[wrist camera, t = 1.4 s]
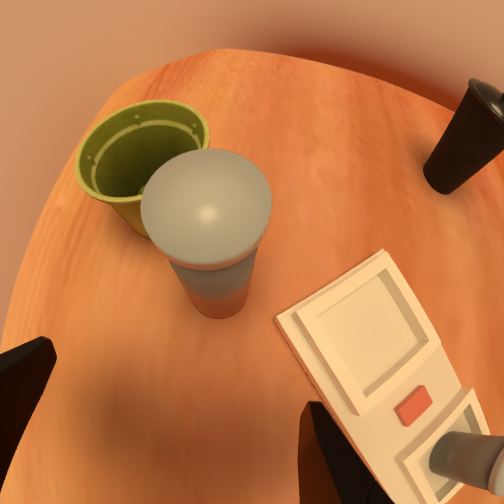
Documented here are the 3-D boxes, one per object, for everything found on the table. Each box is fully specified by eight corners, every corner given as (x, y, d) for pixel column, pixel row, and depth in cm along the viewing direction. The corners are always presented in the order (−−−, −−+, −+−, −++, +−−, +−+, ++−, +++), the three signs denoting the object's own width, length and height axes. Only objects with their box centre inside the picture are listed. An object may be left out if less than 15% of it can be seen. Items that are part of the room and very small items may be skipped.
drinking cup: (434, 209, 27) (544, 84, 8) (403, 155, 30) (482, 25, 11) (468, 201, 28) (562, 101, 10) (440, 153, 31) (514, 48, 12)
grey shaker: (206, 332, 21) (171, 286, 9) (178, 278, 22) (125, 179, 10) (261, 302, 22) (297, 221, 10) (231, 251, 23) (232, 134, 11)
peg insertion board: (401, 521, 14) (465, 559, 4) (273, 319, 21) (307, 279, 12) (476, 447, 17) (548, 453, 7) (375, 254, 24) (443, 191, 15)
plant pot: (124, 170, 26) (96, 106, 18) (216, 166, 27) (213, 94, 19) (106, 258, 22) (57, 206, 14) (213, 257, 23) (205, 198, 15)
